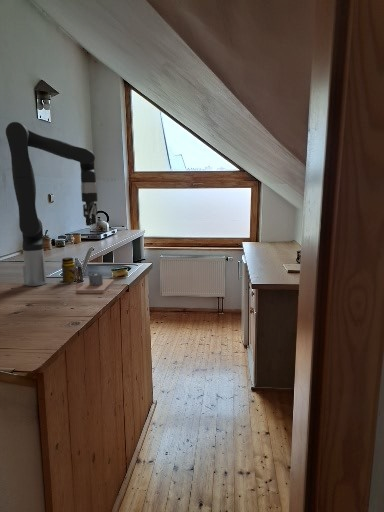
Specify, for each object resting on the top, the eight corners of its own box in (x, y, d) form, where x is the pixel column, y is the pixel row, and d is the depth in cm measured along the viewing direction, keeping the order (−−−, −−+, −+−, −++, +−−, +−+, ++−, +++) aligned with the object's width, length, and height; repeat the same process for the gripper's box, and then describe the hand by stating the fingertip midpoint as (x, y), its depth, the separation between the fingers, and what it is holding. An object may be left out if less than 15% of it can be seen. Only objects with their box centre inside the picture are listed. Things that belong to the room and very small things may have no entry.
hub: (87, 286, 166) (87, 275, 165) (92, 282, 172) (91, 272, 171) (100, 286, 166) (100, 275, 165) (104, 282, 172) (103, 272, 171)
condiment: (78, 282, 180) (76, 258, 178) (60, 284, 175) (58, 260, 173) (74, 279, 186) (72, 256, 184) (57, 281, 181) (55, 258, 179)
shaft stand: (76, 293, 160) (75, 279, 159) (90, 282, 179) (89, 269, 177) (103, 293, 160) (102, 279, 158) (114, 282, 178) (113, 269, 177)
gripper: (86, 192, 185) (88, 223, 188) (76, 192, 171) (79, 226, 174) (100, 191, 185) (102, 223, 188) (92, 192, 171) (94, 226, 174)
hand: (91, 224), depth 181 cm, fingers open, 8 cm apart
